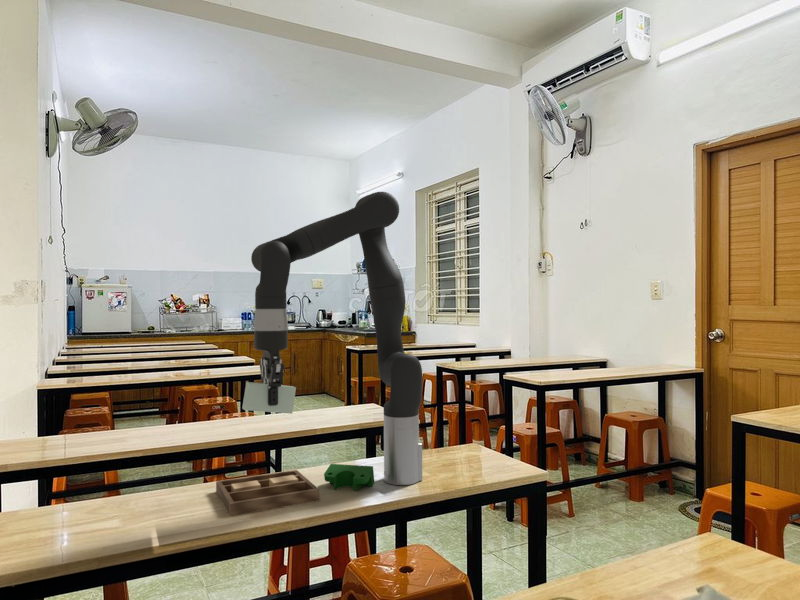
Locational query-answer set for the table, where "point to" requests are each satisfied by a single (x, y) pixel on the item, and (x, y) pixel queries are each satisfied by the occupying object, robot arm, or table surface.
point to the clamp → (349, 476)
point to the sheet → (259, 398)
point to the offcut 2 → (282, 480)
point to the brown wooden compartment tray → (266, 493)
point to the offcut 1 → (245, 486)
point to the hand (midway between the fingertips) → (271, 404)
